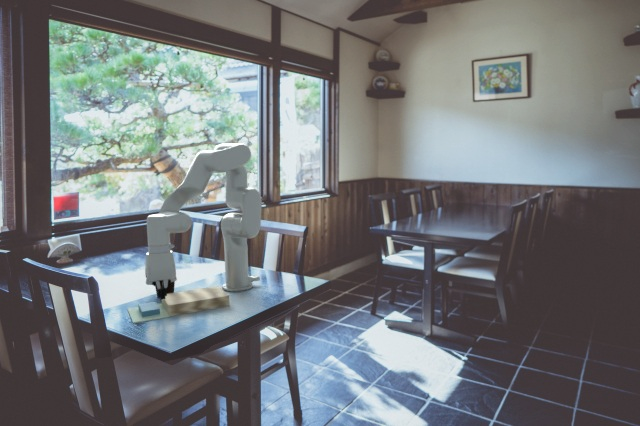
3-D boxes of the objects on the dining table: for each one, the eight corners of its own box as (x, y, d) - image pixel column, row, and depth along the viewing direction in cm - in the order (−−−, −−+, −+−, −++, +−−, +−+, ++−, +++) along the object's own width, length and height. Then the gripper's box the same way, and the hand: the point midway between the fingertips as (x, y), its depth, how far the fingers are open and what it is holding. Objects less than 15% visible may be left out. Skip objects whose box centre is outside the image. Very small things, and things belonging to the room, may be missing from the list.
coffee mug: (173, 299, 190) (171, 274, 189) (151, 299, 190) (149, 274, 189) (181, 290, 202) (180, 266, 200) (160, 290, 202) (159, 267, 200)
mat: (161, 304, 185) (161, 303, 185) (169, 317, 171) (169, 316, 170) (127, 309, 179) (127, 308, 179) (133, 323, 165) (133, 322, 165)
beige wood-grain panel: (218, 295, 194) (218, 286, 193) (229, 305, 182) (229, 295, 181) (161, 304, 184) (161, 294, 183) (168, 316, 171) (168, 305, 171)
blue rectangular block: (138, 304, 177) (138, 309, 178) (142, 311, 170) (142, 317, 170) (155, 301, 180) (155, 306, 181) (159, 308, 172) (160, 314, 173)
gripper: (178, 244, 181) (181, 292, 183) (135, 249, 174) (139, 298, 176) (182, 248, 174) (185, 297, 177) (138, 253, 167) (142, 304, 170)
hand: (162, 298), depth 177 cm, fingers closed
